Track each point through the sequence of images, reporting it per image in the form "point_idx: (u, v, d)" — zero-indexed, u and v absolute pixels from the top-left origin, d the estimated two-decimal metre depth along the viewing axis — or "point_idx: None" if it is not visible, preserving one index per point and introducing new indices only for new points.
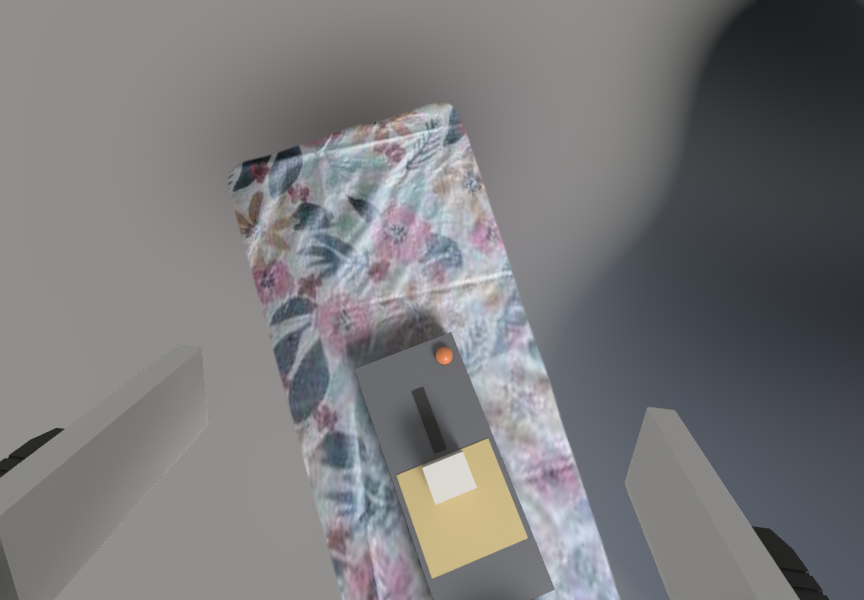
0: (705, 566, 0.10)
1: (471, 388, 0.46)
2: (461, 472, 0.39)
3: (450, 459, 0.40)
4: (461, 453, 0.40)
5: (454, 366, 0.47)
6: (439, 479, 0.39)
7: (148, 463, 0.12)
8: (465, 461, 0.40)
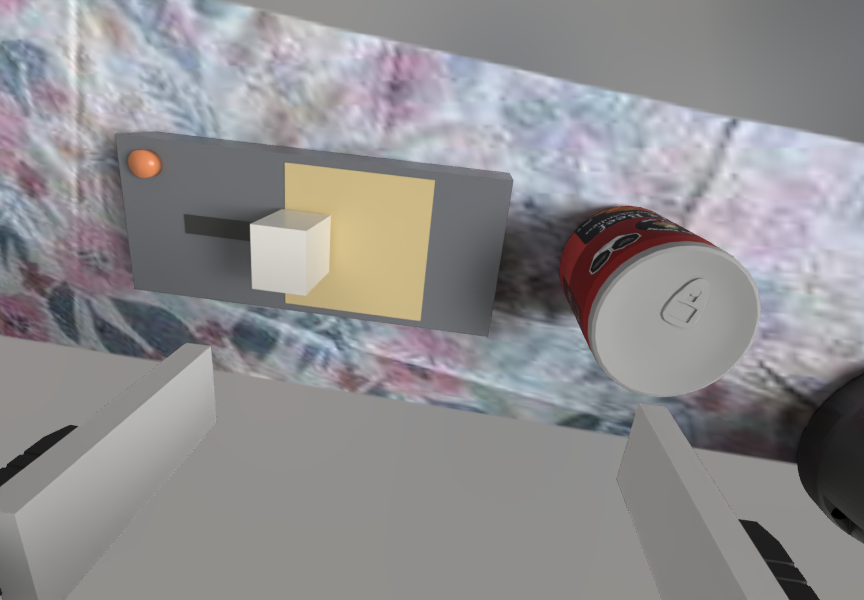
0: (692, 558, 0.10)
1: (207, 148, 0.29)
2: (278, 241, 0.26)
3: (254, 245, 0.26)
4: (251, 227, 0.25)
5: (167, 155, 0.29)
6: (275, 275, 0.26)
7: (159, 460, 0.12)
8: (264, 227, 0.25)
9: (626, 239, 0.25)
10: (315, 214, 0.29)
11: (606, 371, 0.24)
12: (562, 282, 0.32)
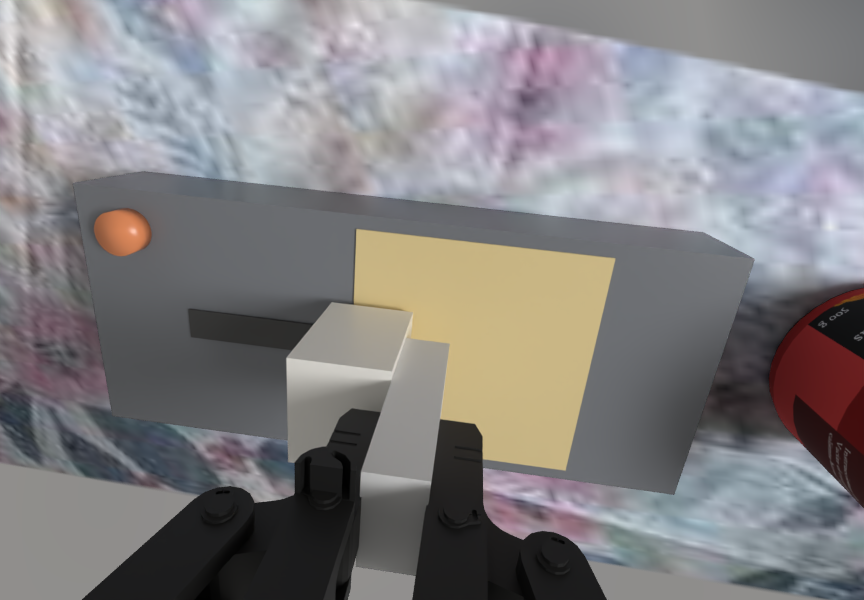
0: None
1: (226, 205, 0.17)
2: (337, 388, 0.14)
3: (294, 393, 0.14)
4: (289, 363, 0.14)
5: (160, 218, 0.18)
6: None
7: None
8: (314, 364, 0.14)
9: None
10: (388, 312, 0.17)
11: None
12: (790, 405, 0.20)
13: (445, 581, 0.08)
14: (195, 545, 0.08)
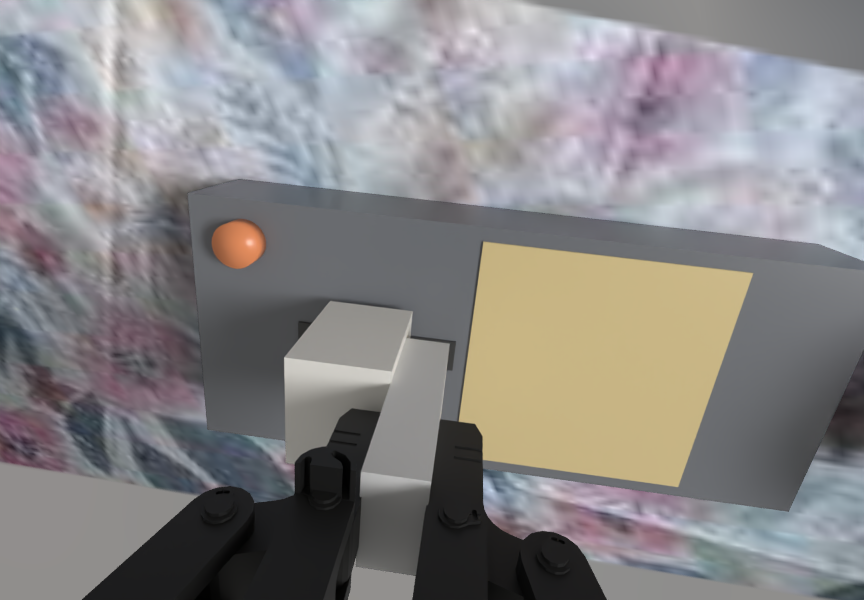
0: None
1: (348, 217, 0.17)
2: (336, 388, 0.14)
3: (292, 394, 0.14)
4: (287, 363, 0.13)
5: (277, 229, 0.17)
6: None
7: None
8: (312, 364, 0.13)
9: None
10: (387, 311, 0.17)
11: None
12: None
13: (445, 581, 0.08)
14: (195, 545, 0.08)
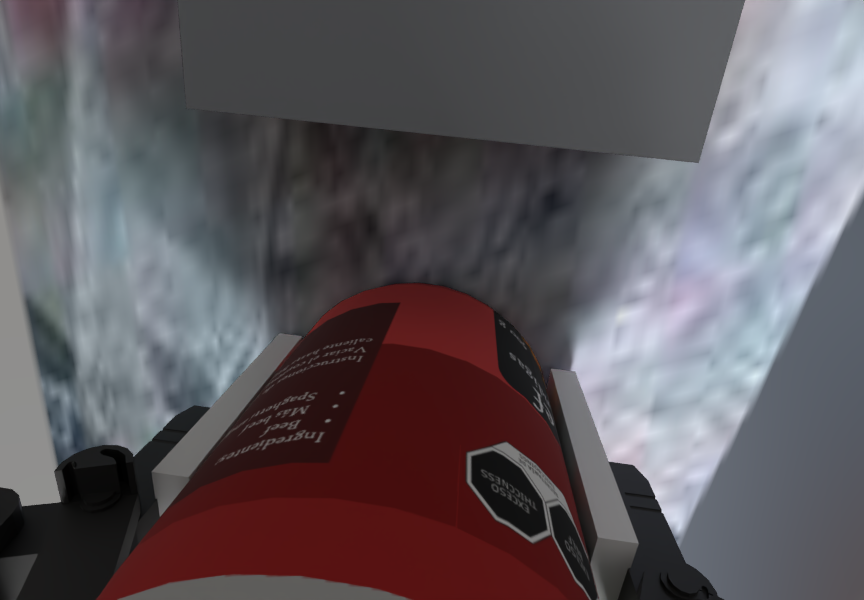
0: None
1: None
2: None
3: None
4: None
5: None
6: None
7: None
8: None
9: (578, 551, 0.08)
10: None
11: None
12: (376, 301, 0.13)
13: None
14: None
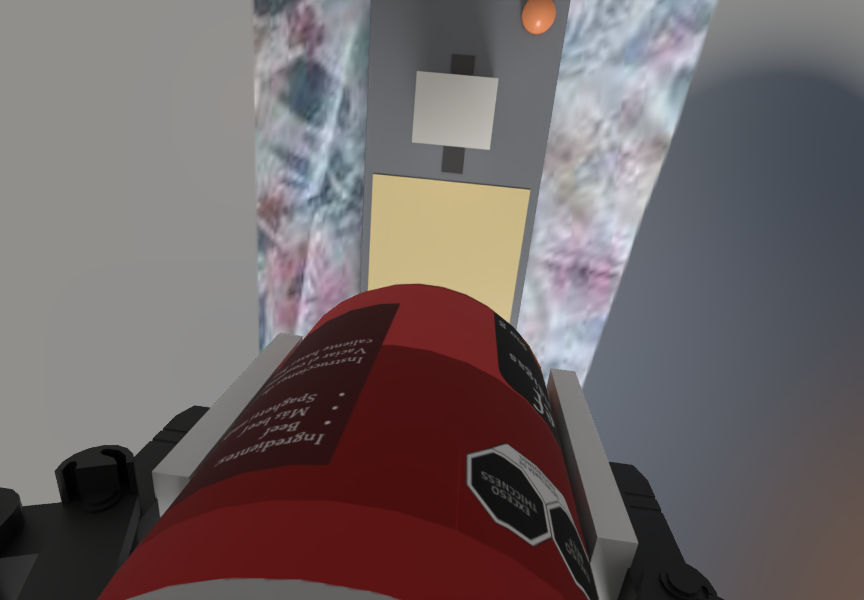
0: None
1: (550, 99, 0.26)
2: (477, 113, 0.22)
3: (471, 81, 0.21)
4: (494, 80, 0.21)
5: (544, 45, 0.25)
6: (436, 105, 0.22)
7: None
8: (493, 97, 0.21)
9: (579, 553, 0.08)
10: None
11: None
12: (376, 302, 0.13)
13: None
14: None
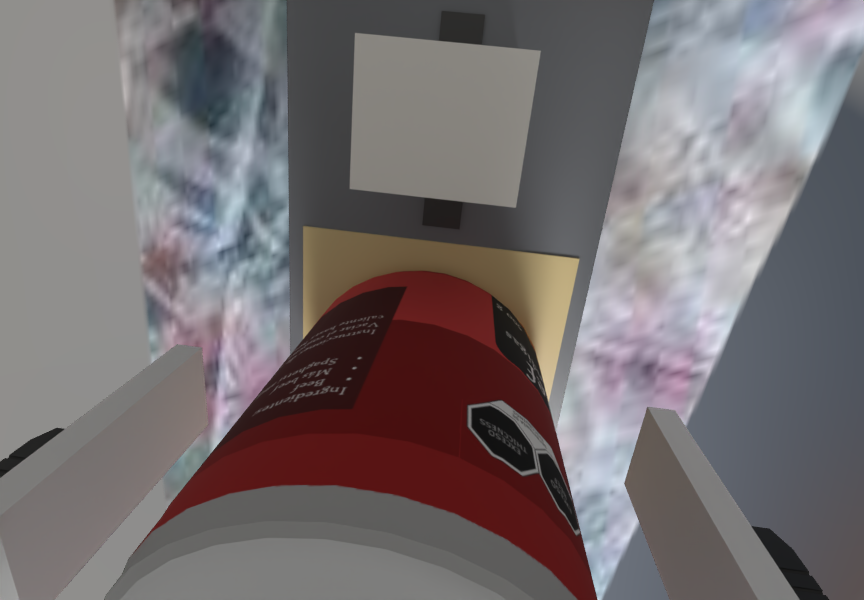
0: (705, 566, 0.10)
1: (624, 99, 0.14)
2: (490, 129, 0.10)
3: (479, 57, 0.09)
4: (530, 55, 0.09)
5: None
6: (399, 110, 0.10)
7: (148, 463, 0.12)
8: (528, 95, 0.10)
9: (563, 491, 0.09)
10: None
11: (141, 568, 0.06)
12: (385, 285, 0.14)
13: None
14: None
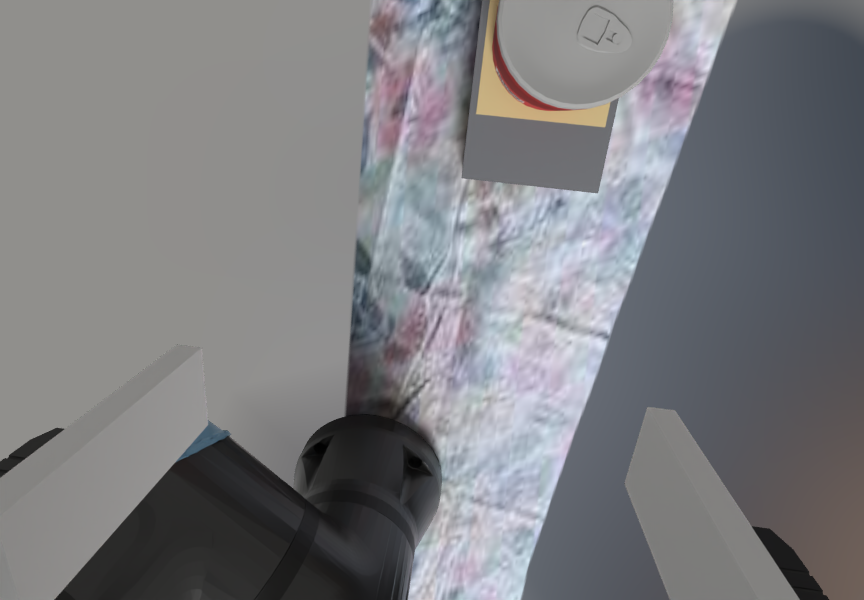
0: (705, 566, 0.10)
1: None
2: None
3: None
4: None
5: None
6: None
7: (148, 463, 0.12)
8: None
9: None
10: None
11: None
12: None
13: None
14: None
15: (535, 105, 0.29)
